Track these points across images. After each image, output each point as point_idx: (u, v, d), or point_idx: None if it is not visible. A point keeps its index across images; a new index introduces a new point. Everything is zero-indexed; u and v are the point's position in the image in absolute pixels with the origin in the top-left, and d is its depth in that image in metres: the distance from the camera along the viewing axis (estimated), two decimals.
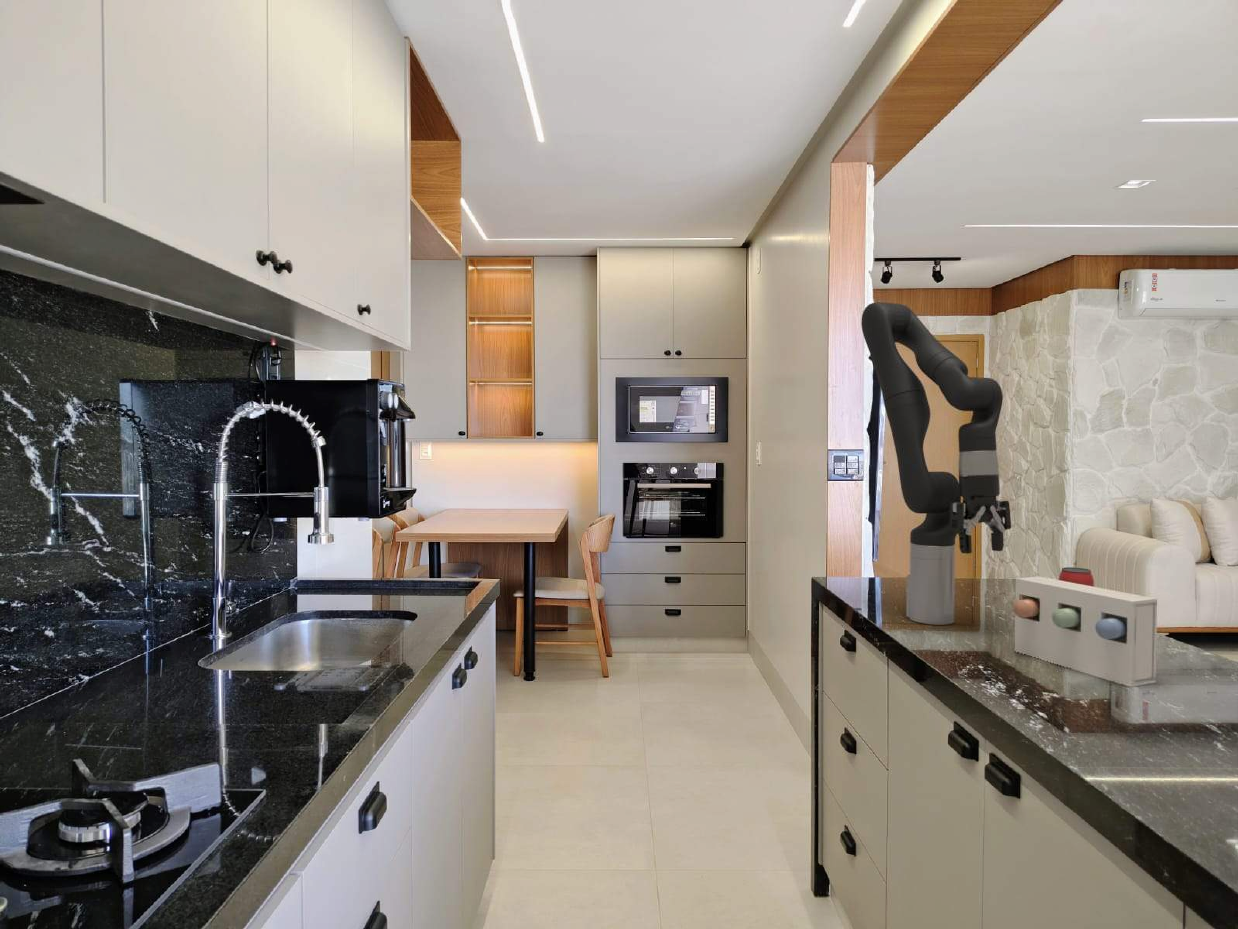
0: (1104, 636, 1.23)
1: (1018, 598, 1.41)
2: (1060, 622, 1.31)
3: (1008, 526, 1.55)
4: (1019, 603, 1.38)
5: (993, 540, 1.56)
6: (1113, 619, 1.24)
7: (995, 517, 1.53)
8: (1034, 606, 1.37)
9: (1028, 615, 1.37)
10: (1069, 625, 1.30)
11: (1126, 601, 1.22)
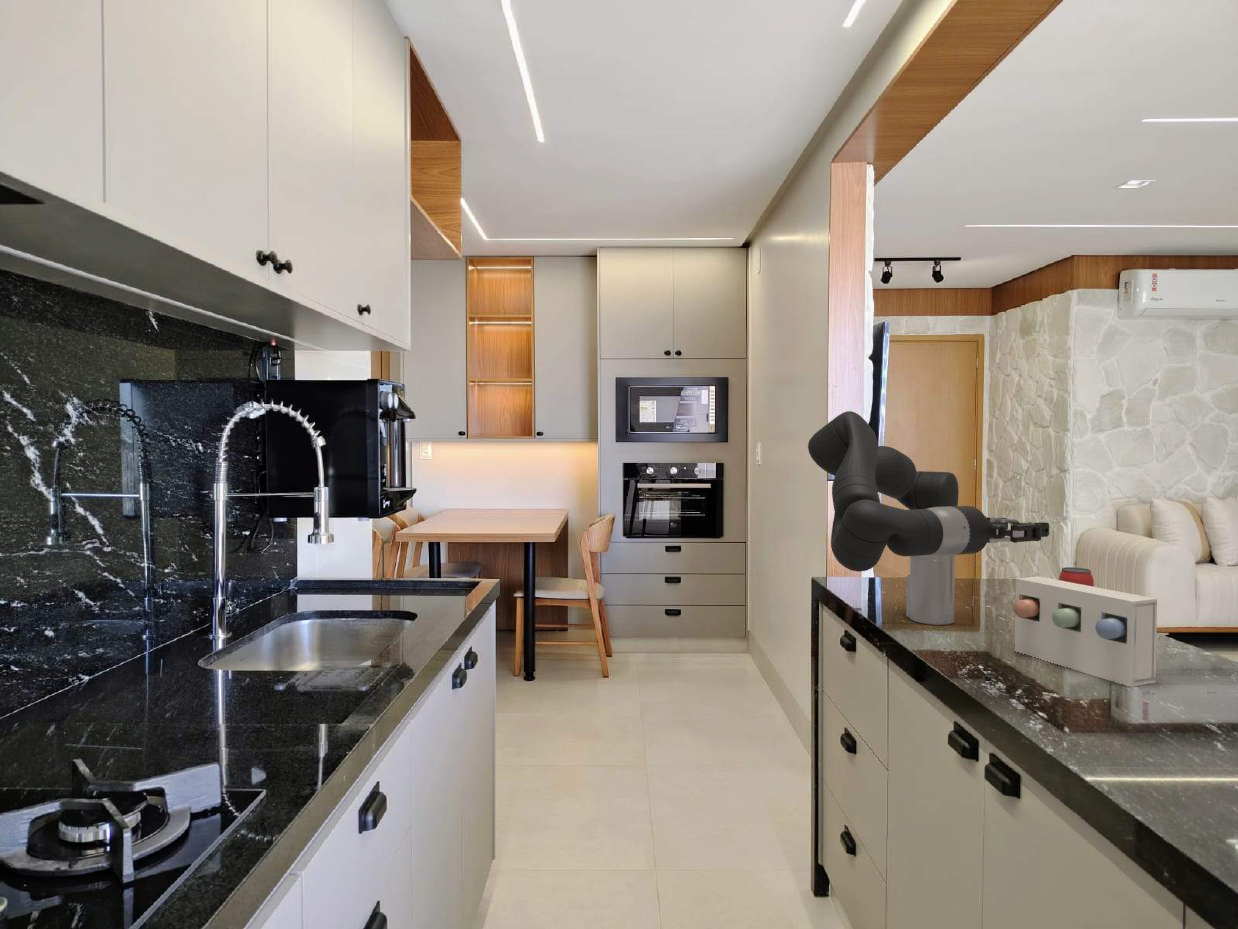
0: (1104, 636, 1.23)
1: (1018, 598, 1.41)
2: (1060, 622, 1.31)
3: None
4: (1019, 603, 1.38)
5: None
6: (1113, 619, 1.24)
7: None
8: (1034, 606, 1.37)
9: (1028, 615, 1.37)
10: (1069, 625, 1.30)
11: (1126, 601, 1.22)
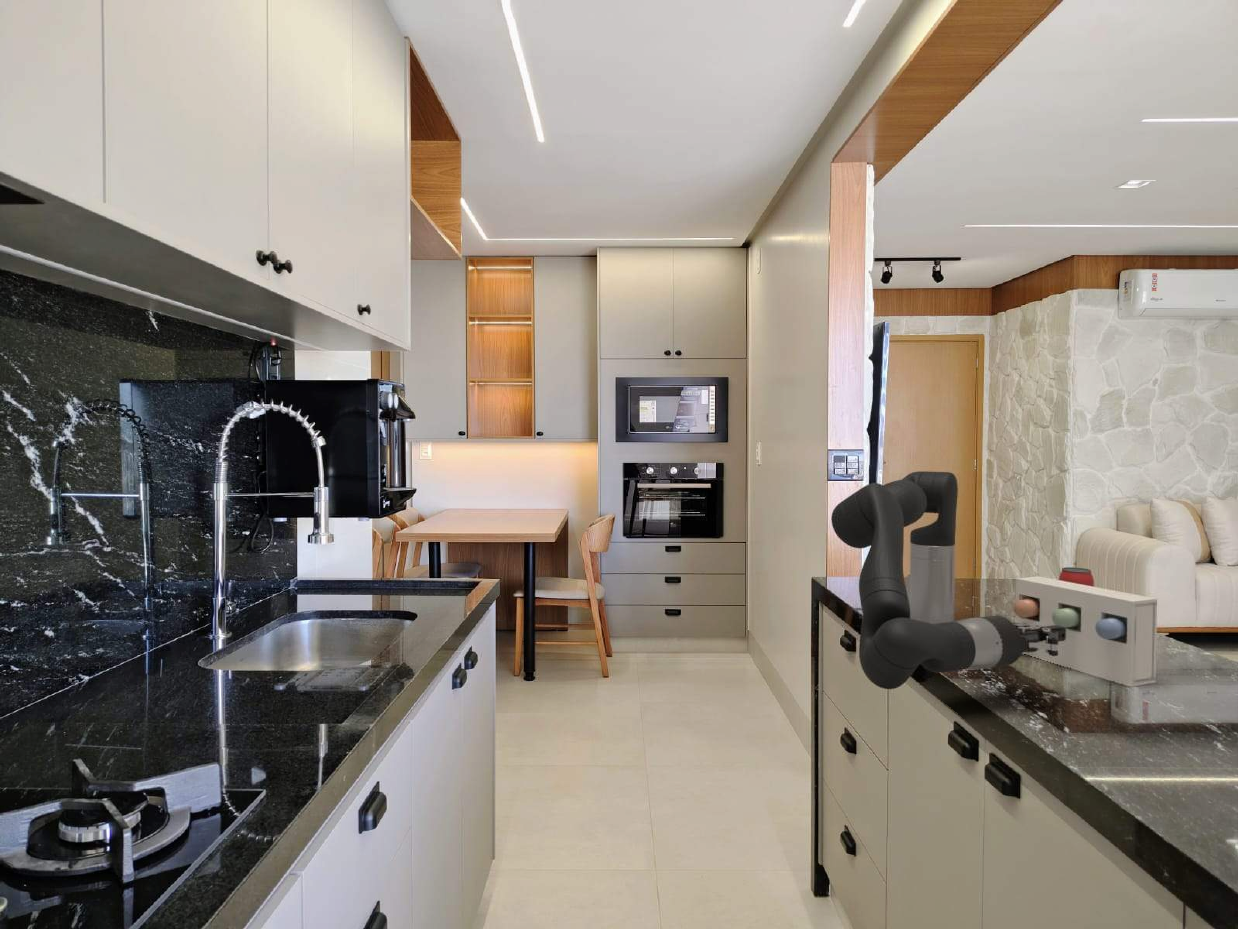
0: (1104, 636, 1.23)
1: (1018, 598, 1.41)
2: (1060, 622, 1.31)
3: None
4: (1019, 603, 1.38)
5: None
6: (1113, 619, 1.24)
7: None
8: (1034, 606, 1.37)
9: (1028, 615, 1.37)
10: (1069, 625, 1.30)
11: (1126, 601, 1.22)
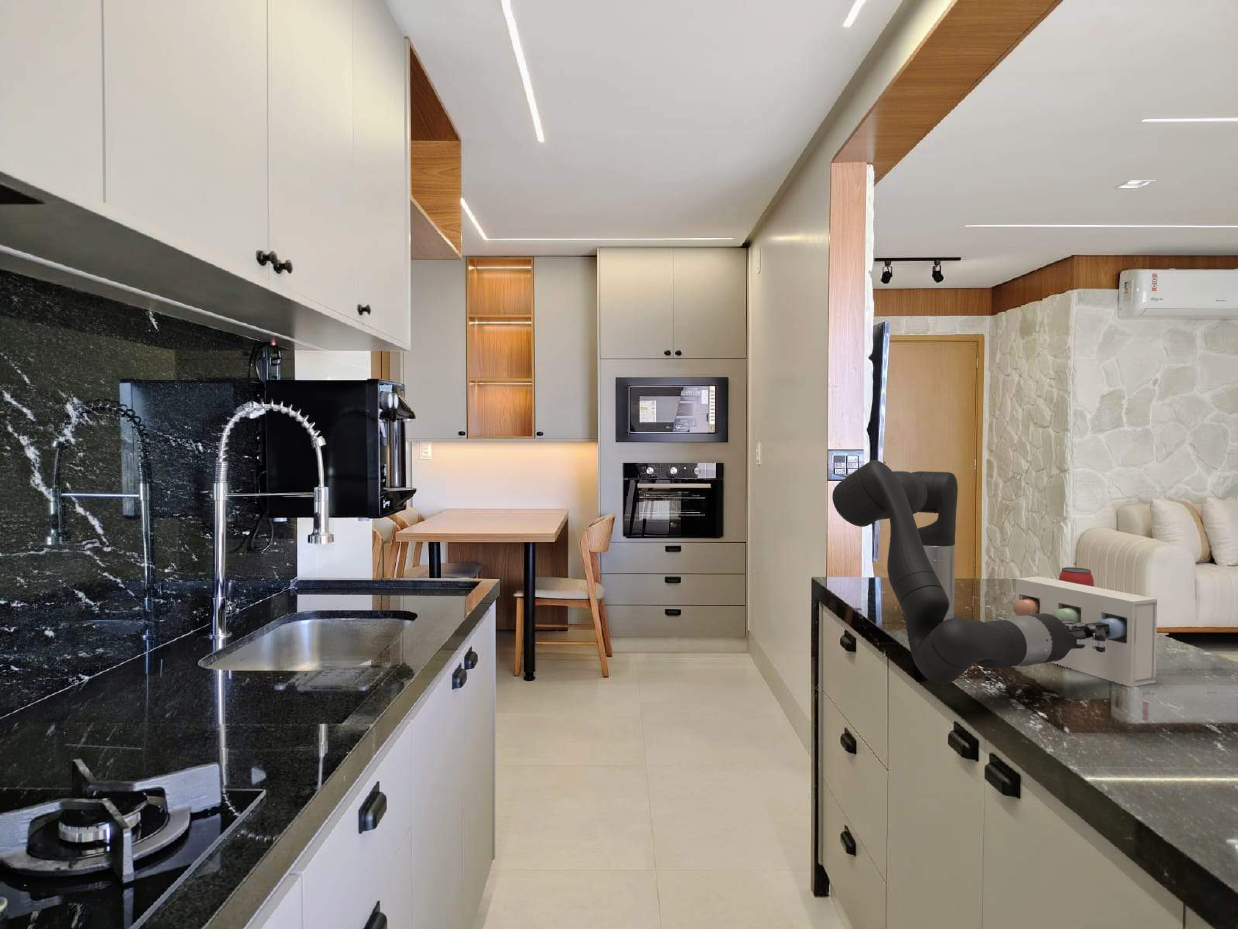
0: None
1: (1018, 598, 1.41)
2: None
3: None
4: (1019, 603, 1.38)
5: None
6: (1113, 619, 1.24)
7: None
8: (1034, 606, 1.37)
9: None
10: None
11: (1126, 601, 1.22)
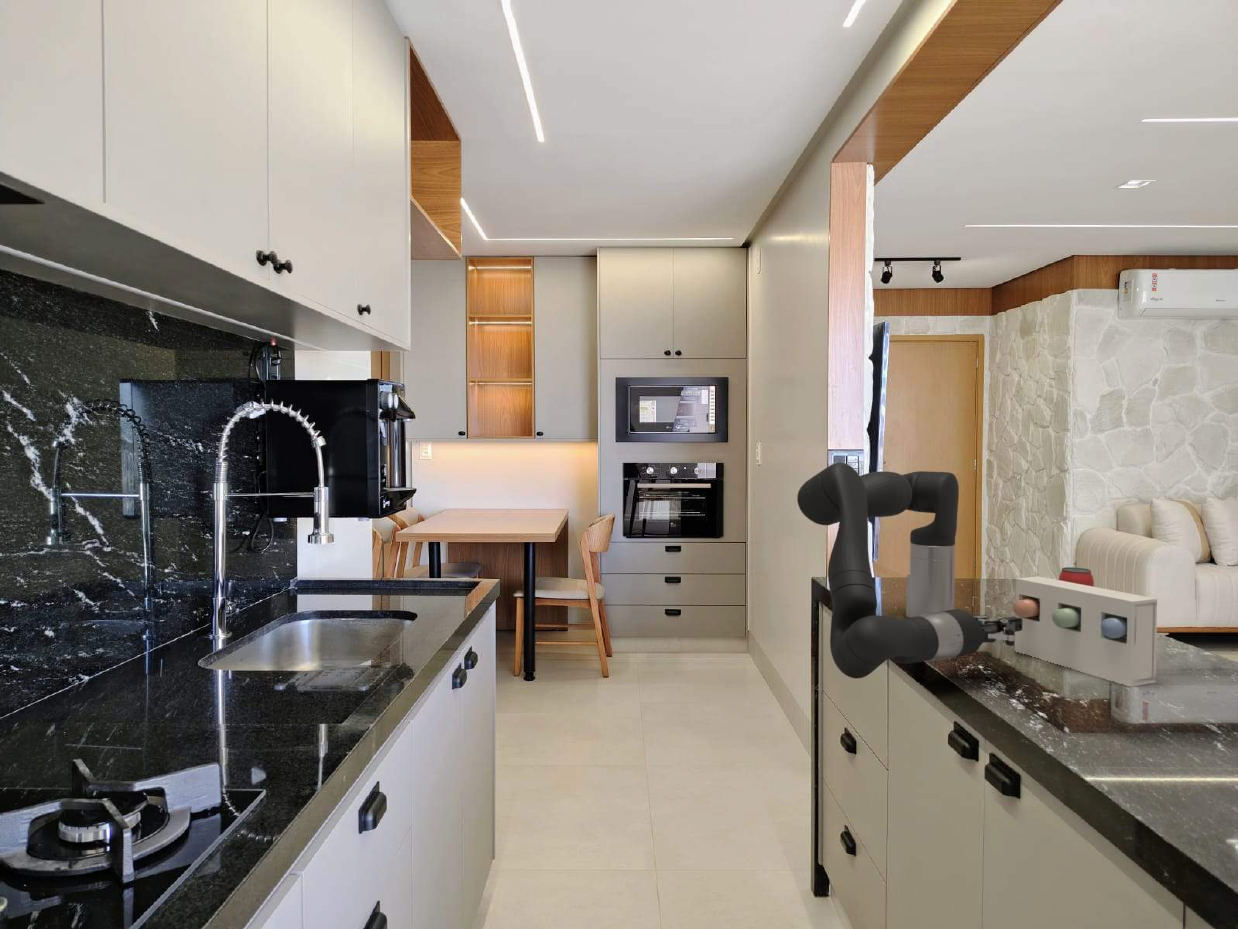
0: (1109, 636, 1.24)
1: (1018, 598, 1.41)
2: (1060, 622, 1.31)
3: None
4: (1019, 603, 1.38)
5: None
6: (1118, 618, 1.24)
7: None
8: (1034, 606, 1.37)
9: (1028, 615, 1.37)
10: (1069, 625, 1.30)
11: (1126, 601, 1.22)
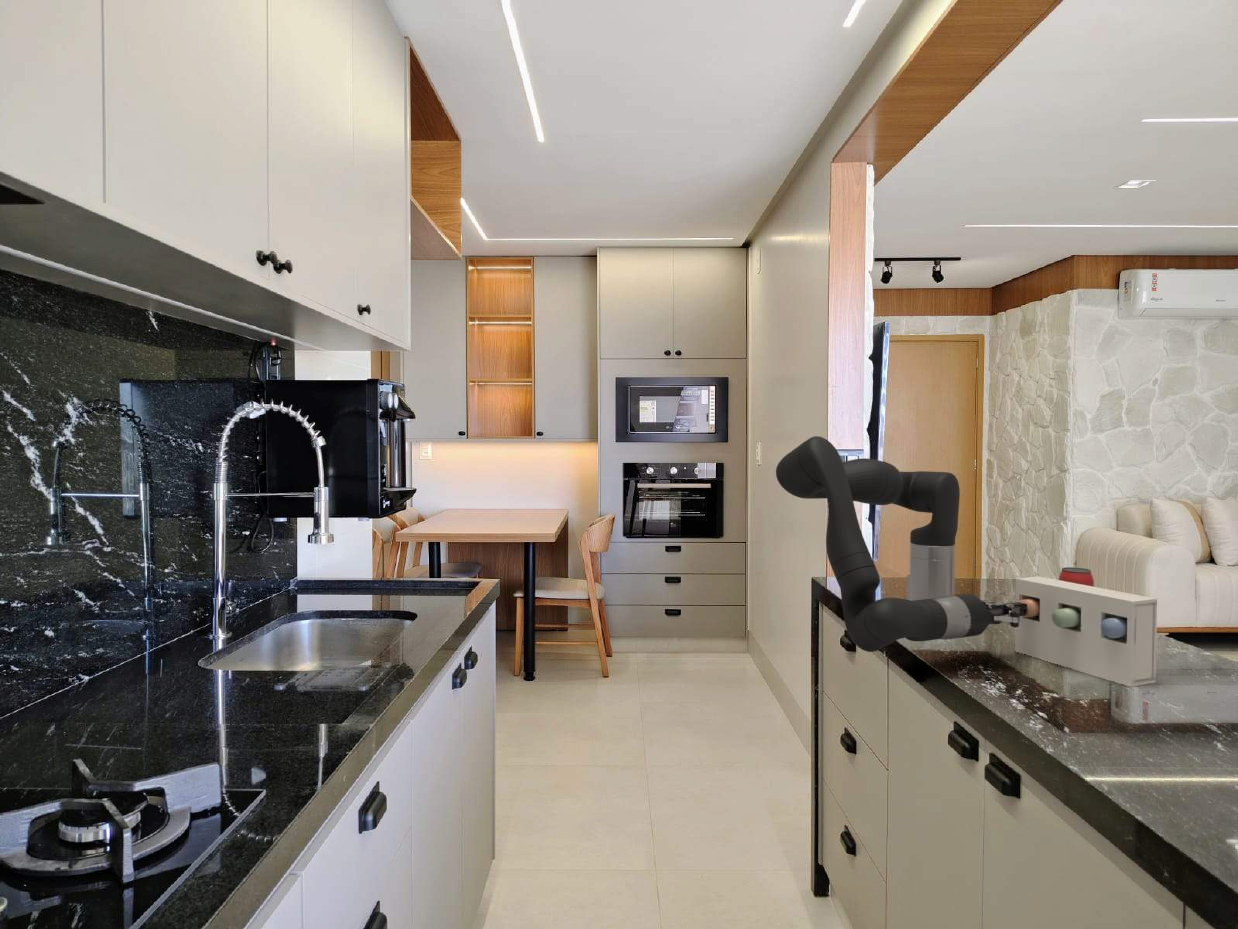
0: (1109, 636, 1.24)
1: (1018, 598, 1.41)
2: (1060, 622, 1.31)
3: None
4: None
5: None
6: (1118, 618, 1.24)
7: None
8: (1038, 605, 1.38)
9: (1031, 615, 1.38)
10: (1069, 625, 1.30)
11: (1126, 601, 1.22)
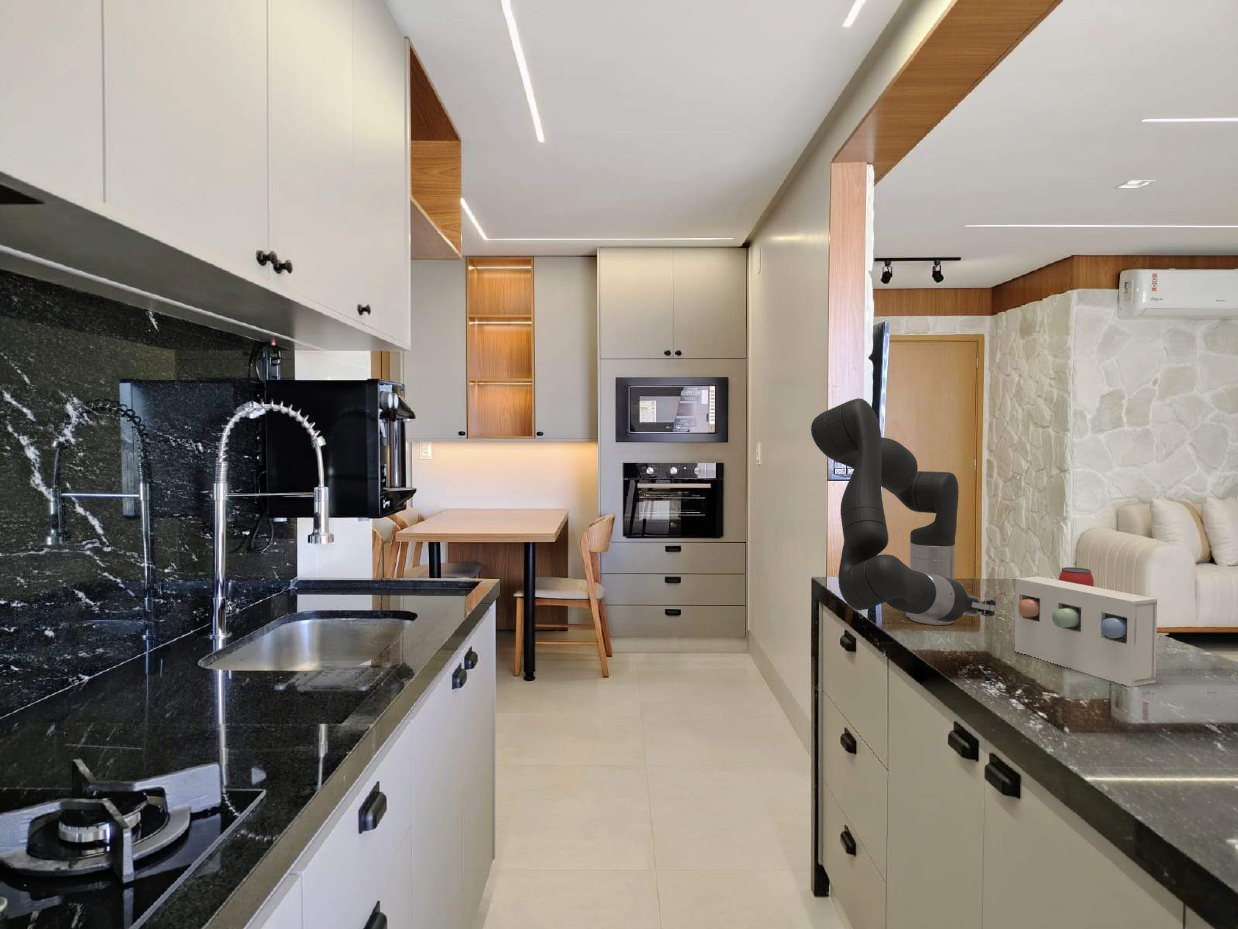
0: (1109, 636, 1.24)
1: (1018, 598, 1.41)
2: (1060, 622, 1.31)
3: (984, 615, 1.32)
4: (1024, 602, 1.39)
5: None
6: (1118, 618, 1.24)
7: None
8: None
9: (1033, 614, 1.38)
10: (1069, 625, 1.30)
11: (1126, 601, 1.22)
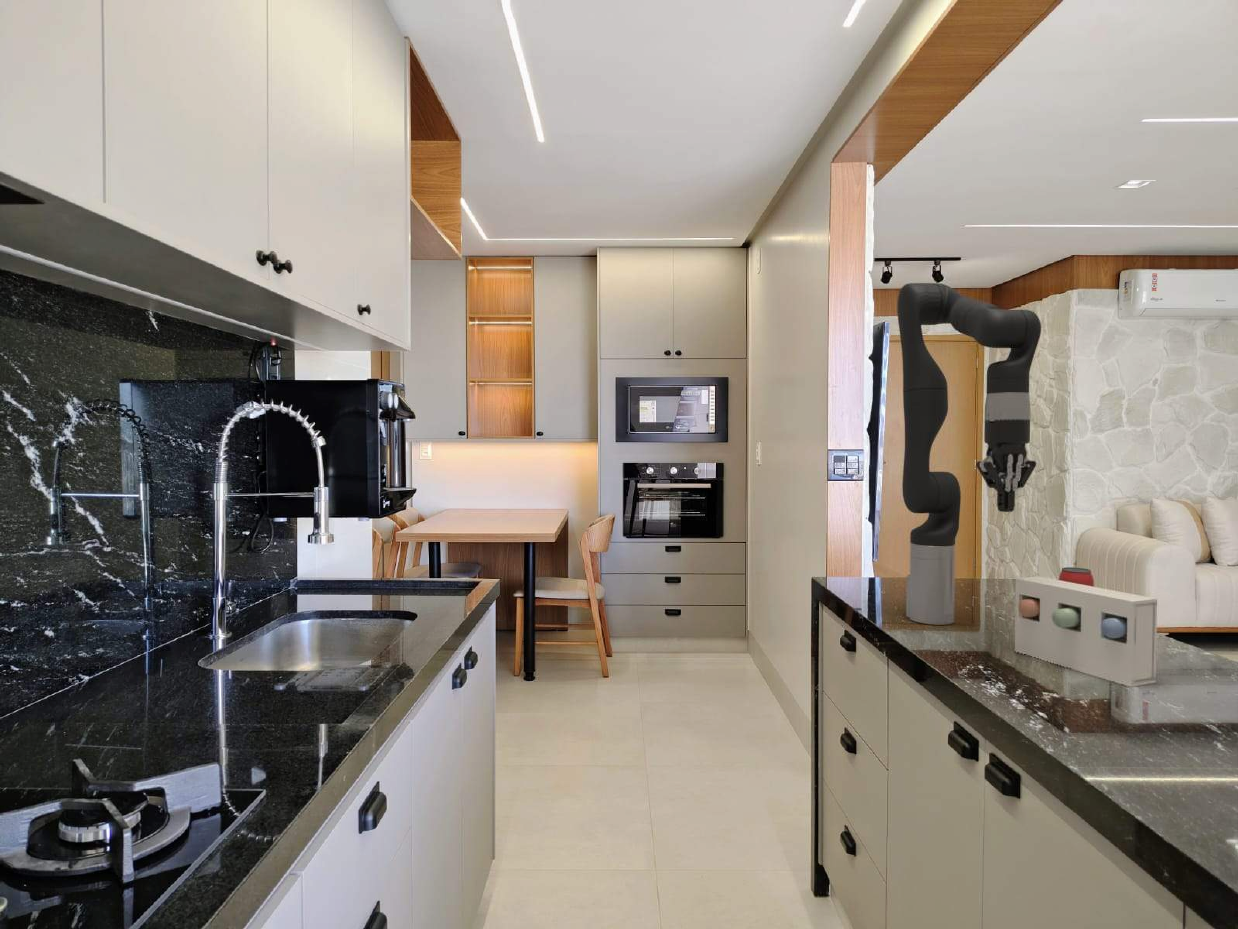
0: (1109, 636, 1.24)
1: (1018, 598, 1.41)
2: (1060, 622, 1.31)
3: (1021, 483, 1.38)
4: (1024, 602, 1.39)
5: None
6: (1118, 618, 1.24)
7: (1017, 468, 1.37)
8: None
9: (1033, 614, 1.38)
10: (1069, 625, 1.30)
11: (1126, 601, 1.22)
